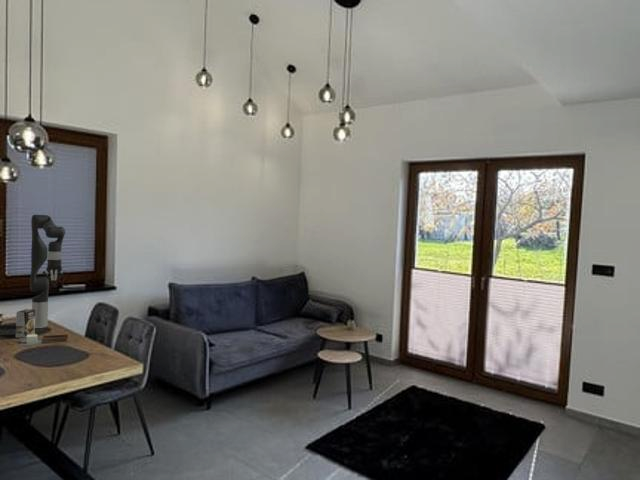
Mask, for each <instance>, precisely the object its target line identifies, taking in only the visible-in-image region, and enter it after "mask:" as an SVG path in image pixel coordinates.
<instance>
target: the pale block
mask: <svg viewBox="0 0 640 480" xmlns="http://www.w3.org/2000/svg"><path fill="white" fill-rule="evenodd" d="M37 339H38V334H37V333H35V334H33V335H27V337H26V340H27V344H30V343H37Z"/></svg>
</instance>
